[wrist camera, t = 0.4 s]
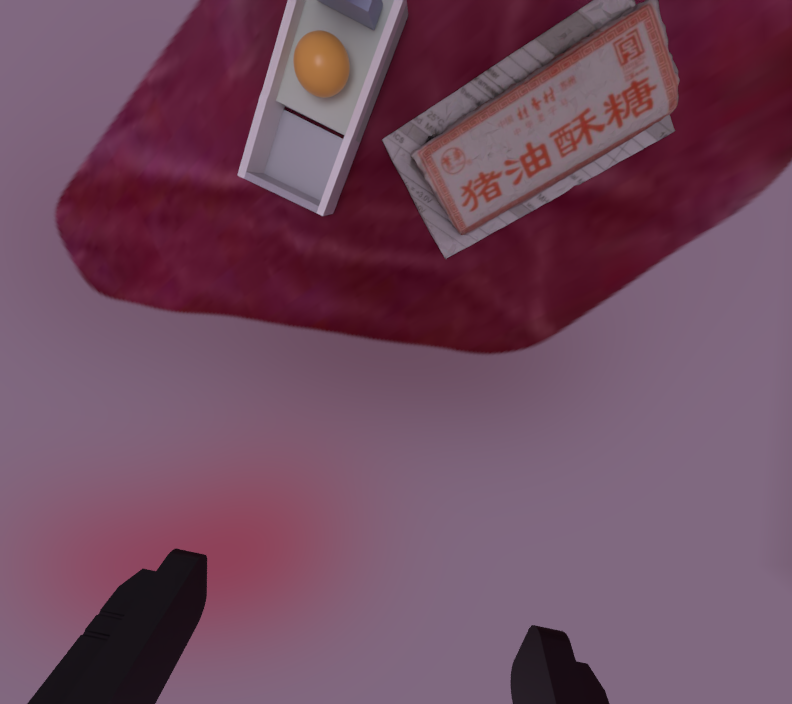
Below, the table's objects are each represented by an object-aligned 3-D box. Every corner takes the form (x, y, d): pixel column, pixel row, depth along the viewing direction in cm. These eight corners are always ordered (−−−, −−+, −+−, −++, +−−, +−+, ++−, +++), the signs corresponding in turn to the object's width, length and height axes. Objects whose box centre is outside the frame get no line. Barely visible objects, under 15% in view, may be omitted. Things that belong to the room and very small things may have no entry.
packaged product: (656, -56, 23) (709, 123, 25) (618, -15, 27) (667, 133, 30) (374, 133, 27) (446, 268, 30) (381, 141, 31) (443, 258, 34)
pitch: (319, -33, 28) (305, -62, 24) (408, 15, 28) (405, -7, 25) (278, 102, 31) (261, 92, 27) (359, 143, 31) (352, 137, 28)
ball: (313, 31, 27) (297, 9, 24) (362, 56, 28) (353, 38, 24) (295, 88, 28) (278, 74, 25) (342, 111, 29) (331, 101, 26)
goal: (278, 102, 31) (260, 92, 27) (359, 143, 31) (351, 137, 28) (256, 176, 33) (237, 175, 29) (333, 213, 33) (322, 216, 30)
